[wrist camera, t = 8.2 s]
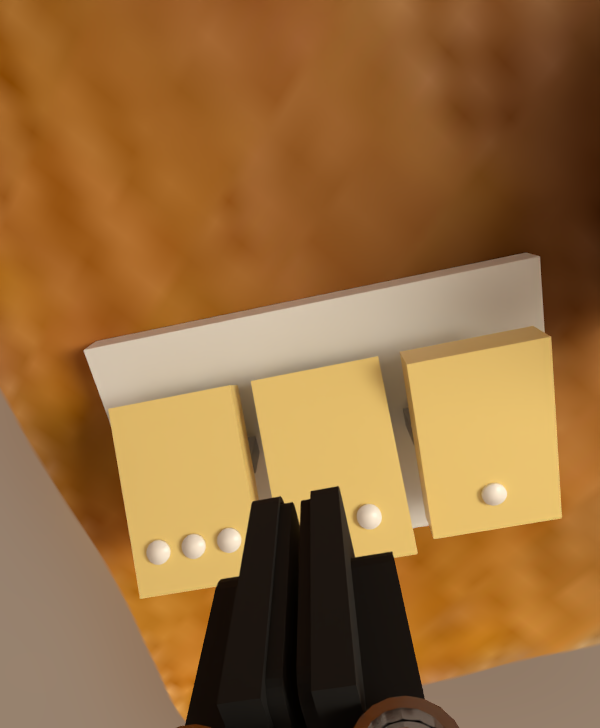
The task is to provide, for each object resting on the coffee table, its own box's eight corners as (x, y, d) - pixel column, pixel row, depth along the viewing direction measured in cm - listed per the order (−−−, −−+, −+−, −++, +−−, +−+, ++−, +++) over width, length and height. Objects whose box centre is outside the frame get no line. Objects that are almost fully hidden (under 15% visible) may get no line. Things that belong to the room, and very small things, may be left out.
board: (95, 341, 28) (64, 364, 24) (526, 252, 26) (561, 262, 22) (169, 551, 32) (152, 597, 29) (543, 488, 30) (574, 528, 27)
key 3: (124, 407, 26) (106, 409, 24) (237, 385, 26) (228, 385, 24) (154, 583, 26) (138, 600, 24) (270, 564, 25) (264, 579, 23)
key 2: (257, 381, 26) (249, 381, 24) (375, 358, 25) (378, 355, 23) (290, 561, 25) (285, 576, 23) (412, 541, 25) (418, 555, 23)
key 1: (399, 351, 23) (407, 365, 22) (533, 325, 23) (553, 338, 21) (425, 516, 26) (434, 541, 24) (544, 496, 26) (563, 520, 24)
